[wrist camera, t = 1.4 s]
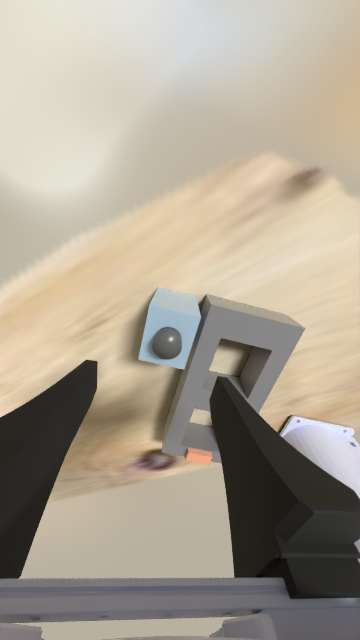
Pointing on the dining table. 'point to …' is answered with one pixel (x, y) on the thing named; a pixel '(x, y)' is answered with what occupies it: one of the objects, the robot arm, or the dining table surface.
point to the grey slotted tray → (198, 382)
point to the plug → (170, 328)
